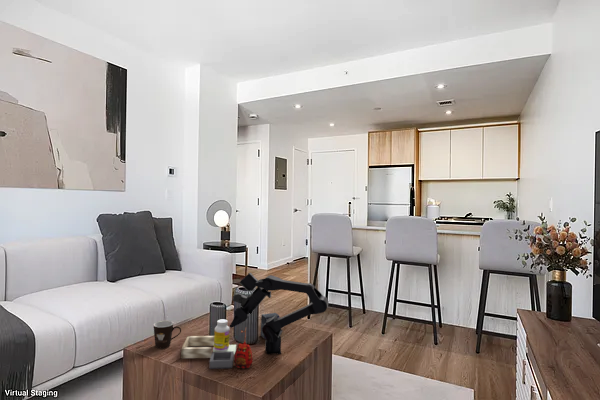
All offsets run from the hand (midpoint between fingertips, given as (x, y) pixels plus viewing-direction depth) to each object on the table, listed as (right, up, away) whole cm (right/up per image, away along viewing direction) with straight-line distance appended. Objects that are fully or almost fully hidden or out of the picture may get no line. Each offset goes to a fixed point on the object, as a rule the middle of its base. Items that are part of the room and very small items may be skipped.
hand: (232, 324), depth 160 cm
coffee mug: (-31, -11, +2) cm, 33 cm away
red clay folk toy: (+7, -12, -15) cm, 20 cm away
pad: (-4, -11, -1) cm, 12 cm away
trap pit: (-2, -11, -13) cm, 18 cm away
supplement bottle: (-5, -11, -1) cm, 12 cm away
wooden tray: (-14, -11, -2) cm, 18 cm away
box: (+15, -12, +18) cm, 26 cm away
